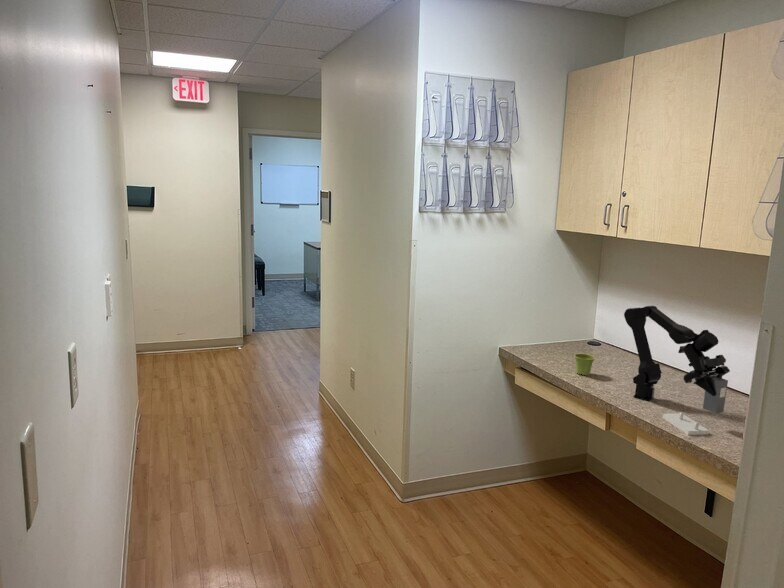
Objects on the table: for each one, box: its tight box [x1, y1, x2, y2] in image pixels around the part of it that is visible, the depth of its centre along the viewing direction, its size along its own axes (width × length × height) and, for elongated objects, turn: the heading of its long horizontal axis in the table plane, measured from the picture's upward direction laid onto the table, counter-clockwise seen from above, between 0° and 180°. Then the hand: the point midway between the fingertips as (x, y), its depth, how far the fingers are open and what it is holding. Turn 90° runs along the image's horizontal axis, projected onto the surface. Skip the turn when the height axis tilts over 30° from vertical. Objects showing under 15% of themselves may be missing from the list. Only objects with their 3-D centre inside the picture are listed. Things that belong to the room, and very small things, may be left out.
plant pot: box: [573, 353, 596, 376], centre depth 275 cm, size 9×9×9 cm
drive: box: [702, 376, 729, 414], centre depth 215 cm, size 6×4×12 cm
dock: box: [662, 411, 710, 436], centre depth 217 cm, size 16×8×4 cm, turn 7°
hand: (718, 394), depth 213 cm, fingers closed on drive, 4 cm apart
